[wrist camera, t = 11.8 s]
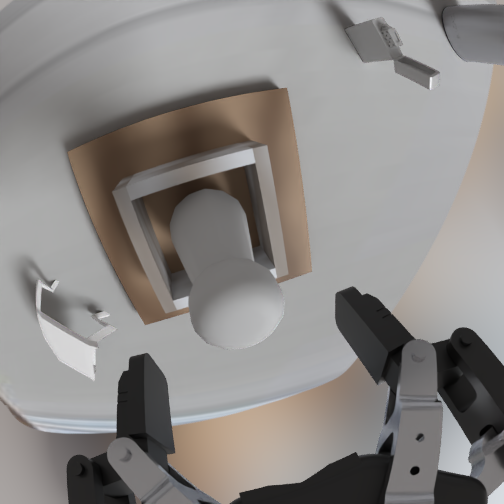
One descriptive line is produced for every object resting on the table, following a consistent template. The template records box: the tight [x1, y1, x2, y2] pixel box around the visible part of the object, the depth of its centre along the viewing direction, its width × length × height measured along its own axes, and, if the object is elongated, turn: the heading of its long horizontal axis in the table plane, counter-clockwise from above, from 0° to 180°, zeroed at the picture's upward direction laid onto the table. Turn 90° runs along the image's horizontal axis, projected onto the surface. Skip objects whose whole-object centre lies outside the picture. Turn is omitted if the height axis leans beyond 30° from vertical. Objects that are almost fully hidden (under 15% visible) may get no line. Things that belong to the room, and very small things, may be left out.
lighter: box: [345, 17, 440, 90], centre depth 16 cm, size 7×2×8 cm, turn 34°
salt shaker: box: [170, 189, 284, 349], centre depth 17 cm, size 6×6×13 cm
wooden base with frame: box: [67, 88, 312, 325], centre depth 21 cm, size 18×18×6 cm
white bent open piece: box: [36, 279, 117, 380], centre depth 22 cm, size 12×8×5 cm
